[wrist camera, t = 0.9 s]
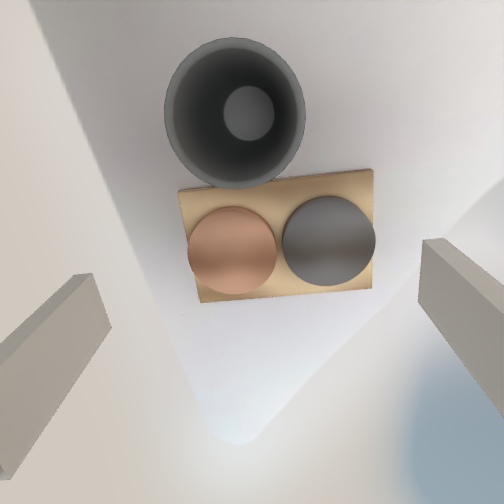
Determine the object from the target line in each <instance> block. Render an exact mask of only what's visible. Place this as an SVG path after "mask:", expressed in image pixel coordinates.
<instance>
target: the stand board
mask: <svg viewBox="0 0 504 504" xmlns="http://www.w3.org/2000/svg"><path fill="white" fill-rule="evenodd" d="M178 198H179V203H180V208H181V213H182V217H183V222H184V227H185V232H186V237H187V242H188V260H189V264H190V266H191V269H192V271H193V272H194V275H195V280H196V285H197V290H198V295H199V299H200V303H208V302H219V301H231V300H243V299H254V298H266V297H278V296H289V295H301V294H312V293H324V292H336V291H347V290H359V289H371V288H372V256H373V253H374V249H375V233H374V229H373V170H371V169H365V170H356V171H347V172H339V173H330V174H321V175H312V176H304V177H295V178H286V179H278V180H269V181H268V182H266V183H264V184H262V185H259V186H256V187H253V188H249V189H240V190H233V189H223V188H220V187H217V186H216V187H208V188H199V189H190V190H182V191H179V192H178Z"/></svg>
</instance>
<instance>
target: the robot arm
mask: <svg viewBox="0 0 504 504" xmlns="http://www.w3.org/2000/svg"><path fill="white" fill-rule="evenodd" d="M418 303H419V304H420V305H421V307H422V308H423V310H424V311H425V312H426V314H427V315H428V316H429V318H430V319H431V320H432V322H433V323H434V324H435V326H436V327H437V328H438V330H439V331H440V333H441V334H442V335H443V337H444V338H445V339H446V341H447V342H448V343H449V345H450V346H451V347H452V349H453V350H454V351H455V353H456V354H457V355H458V357H459V358H460V360H461V361H462V362H463V364H464V365H465V366H466V368H467V369H468V370H469V372H470V373H471V375H472V376H473V377H474V379H475V380H476V381H477V383H478V384H479V385H480V387H481V388H482V389H483V391H484V392H485V393H486V395H487V396H488V398H489V399H490V400H491V401H492V403H493V404H494V406H495V407H496V408H497V410H498V411H499V412H500V414H501V415H502V416H503V418H504V285H502V284H501V283H500V282H499V281H497V280H496V279H495V278H493V277H492V276H491V275H490V274H489V273H487V272H486V271H485V270H484V269H482V268H481V267H480V266H478V265H477V264H476V263H475V262H474V261H472V260H471V259H470V258H469V257H467V256H466V255H465V254H464V253H462V252H461V251H460V250H458V249H457V248H456V247H455V246H453V245H452V244H451V243H450V242H448V241H447V240H446V239H445V238H438V239H428V240H423V244H422V256H421V269H420V281H419V294H418ZM111 328H112V327H111V325H110V322H109V319H108V316H107V313H106V311H105V308H104V305H103V302H102V300H101V297H100V294H99V291H98V288H97V285H96V283H95V280H94V277H93V274H92V273H88V274H78V275H74V276H73V277H72V278H70V280H68V281H67V282H66V283H65V284H64V285H63V286H62V287H61V288H60V289H59V290H58V291H57V292H55V293H54V294H53V295H52V296H51V297H50V298H49V299H48V300H47V301H46V302H45V303H44V304H43V305H42V306H40V307H39V308H38V309H37V310H36V311H35V312H34V313H33V314H32V315H31V316H30V317H29V318H27V319H26V320H25V321H24V322H23V323H22V324H21V325H20V326H19V327H18V328H17V329H16V330H15V331H14V332H13V333H11V334H10V335H9V336H8V337H7V338H6V339H5V340H4V341H3V342H2V343H1V344H0V480H10V479H11V478H12V476H13V475H14V473H15V472H16V471H17V469H18V468H19V466H20V464H21V463H22V462H23V460H24V459H25V457H26V455H27V454H28V452H29V451H30V450H31V448H32V447H33V445H34V443H35V442H36V440H37V439H38V438H39V436H40V435H41V433H42V431H43V430H44V428H45V427H46V426H47V424H48V423H49V421H50V420H51V418H52V416H53V415H54V414H55V412H56V411H57V409H58V408H59V406H60V404H61V403H62V401H63V400H64V399H65V397H66V396H67V394H68V393H69V391H70V390H71V388H72V386H73V385H74V384H75V382H76V381H77V379H78V377H79V376H80V375H81V373H82V371H83V370H84V369H85V367H86V366H87V364H88V363H89V361H90V360H91V358H92V357H93V355H94V354H95V352H96V351H97V349H98V348H99V346H100V345H101V343H102V341H103V340H104V338H105V337H106V336H107V334H108V333H109V331H110V330H111Z"/></svg>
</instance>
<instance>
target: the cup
mask: <svg viewBox="0 0 504 504" xmlns="http://www.w3.org/2000/svg"><path fill="white" fill-rule="evenodd" d="M164 118H165V126H166V131H167V135H168V138H169V140H170V143H171V146H172V148H173V150H174V152H175V153H176V155H177V156H178V158H179V160H180V161H181V162H182V163H183V164H184V166H185V167H186V168H187V169H188V170H189V171H190V172H191V173H193V174H194V175H195V176H197V177H198V178H199V179H201V180H203V181H205V182H207V183H209V184H211V185H213V186H217V187H220V188H223V189H233V190H240V189H249V188H253V187H256V186H259V185H262V184H264V183H266V182H268V181H269V180H271V179H273V178H274V177H276V176H277V175H278V174H279V173H281V172H282V171H283V170H284V169H285V168H286V166H287V165H288V164H289V163H290V162H291V160H292V159H293V157H294V155H295V154H296V152H297V150H298V148H299V146H300V143H301V140H302V137H303V134H304V127H305V119H306V117H305V102H304V98H303V94H302V90H301V87H300V85H299V82H298V80H297V78H296V76H295V74H294V73H293V71H292V70H291V68H290V67H289V66H288V64H287V63H286V61H284V60H283V59H282V58H281V57H280V56H279V55H278V54H277V53H276V52H275V51H273V50H272V49H270V48H268V47H266V46H265V45H263V44H261V43H258V42H255V41H252V40H249V39H245V38H233V37H231V38H224V39H217V40H214V41H212V42H209V43H206V44H204V45H202V46H200V47H199V48H198V49H196V50H195V51H193V52H192V53H190V54H189V55H188V56H187V57H186V58H185V59H184V61H183V62H182V63H181V64H180V65H179V67H178V68H177V70H176V71H175V73H174V75H173V76H172V79H171V81H170V84H169V87H168V89H167V93H166V99H165V105H164Z"/></svg>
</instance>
